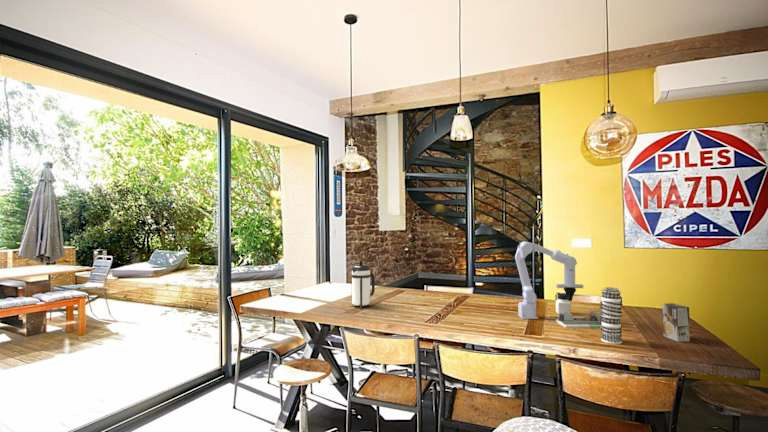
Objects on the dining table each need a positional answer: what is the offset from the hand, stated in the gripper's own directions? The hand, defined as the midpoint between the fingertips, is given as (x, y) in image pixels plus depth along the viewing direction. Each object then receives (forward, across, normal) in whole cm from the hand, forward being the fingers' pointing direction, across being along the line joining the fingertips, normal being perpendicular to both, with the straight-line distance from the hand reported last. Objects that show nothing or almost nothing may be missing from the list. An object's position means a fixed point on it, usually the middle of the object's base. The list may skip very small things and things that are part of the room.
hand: (569, 300), depth 222 cm
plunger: (+9, -6, -12) cm, 16 cm away
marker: (+9, +5, -12) cm, 16 cm away
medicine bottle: (+11, +2, +13) cm, 17 cm away
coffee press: (+11, -122, +32) cm, 127 cm away
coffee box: (+11, +34, -36) cm, 51 cm away
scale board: (+10, 0, -12) cm, 16 cm away
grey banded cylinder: (+11, +1, -40) cm, 41 cm away
